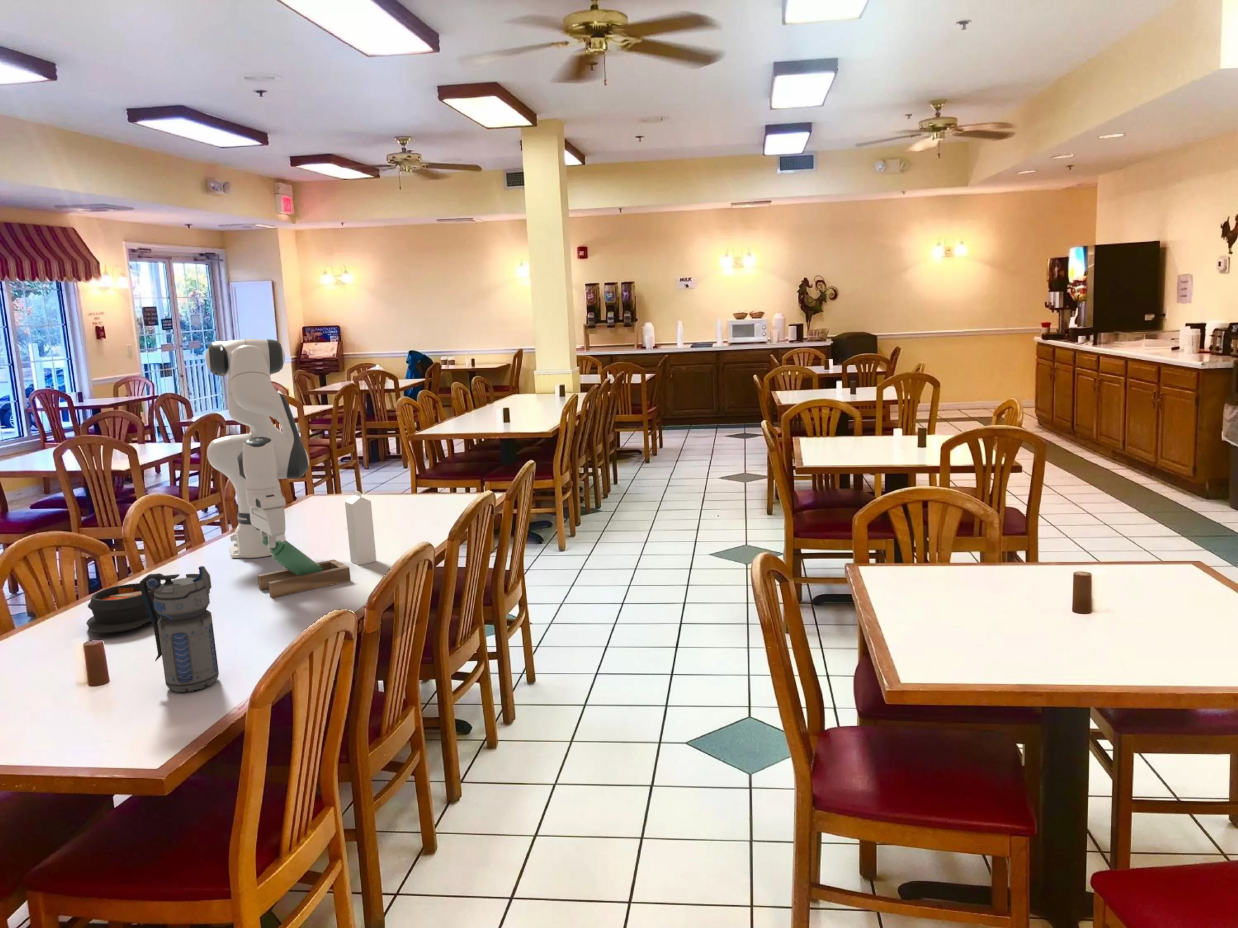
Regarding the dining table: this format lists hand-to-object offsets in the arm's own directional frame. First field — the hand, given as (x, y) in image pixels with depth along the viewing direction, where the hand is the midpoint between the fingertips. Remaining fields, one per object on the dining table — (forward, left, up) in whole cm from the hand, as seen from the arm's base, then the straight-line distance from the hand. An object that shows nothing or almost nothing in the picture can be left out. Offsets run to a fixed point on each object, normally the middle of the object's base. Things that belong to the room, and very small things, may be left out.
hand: (269, 546), depth 257 cm
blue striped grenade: (+56, -35, -13) cm, 67 cm away
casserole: (0, -37, -13) cm, 39 cm away
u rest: (0, +8, -13) cm, 15 cm away
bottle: (0, +11, -11) cm, 16 cm away
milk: (-12, +30, -13) cm, 35 cm away
